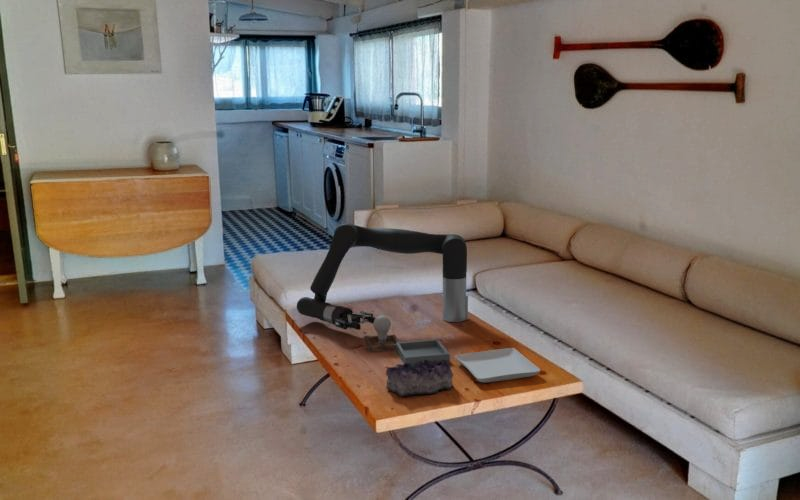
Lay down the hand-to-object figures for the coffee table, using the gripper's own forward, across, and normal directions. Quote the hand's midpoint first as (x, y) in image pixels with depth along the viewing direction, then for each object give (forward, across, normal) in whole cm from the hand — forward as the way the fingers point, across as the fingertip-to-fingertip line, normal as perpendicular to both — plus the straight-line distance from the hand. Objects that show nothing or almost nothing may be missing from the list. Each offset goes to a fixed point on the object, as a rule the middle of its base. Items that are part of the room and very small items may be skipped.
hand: (368, 324), depth 252 cm
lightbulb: (+7, 0, +7) cm, 10 cm away
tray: (+25, +1, +6) cm, 26 cm away
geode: (+42, -20, +7) cm, 47 cm away
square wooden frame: (+7, 0, +6) cm, 9 cm away
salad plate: (+51, +7, +7) cm, 52 cm away
